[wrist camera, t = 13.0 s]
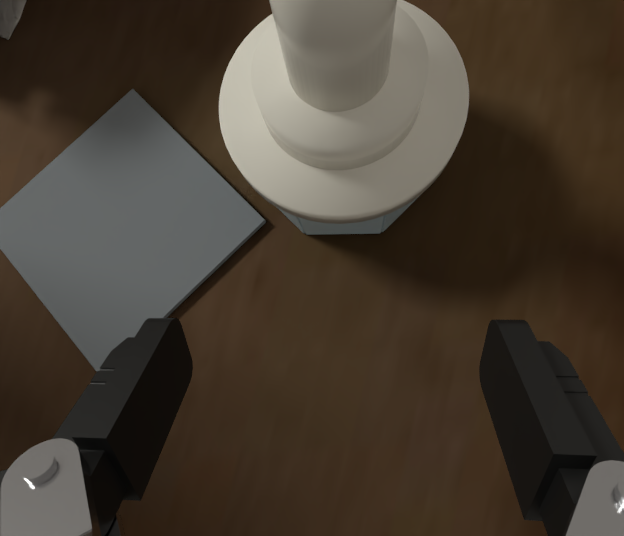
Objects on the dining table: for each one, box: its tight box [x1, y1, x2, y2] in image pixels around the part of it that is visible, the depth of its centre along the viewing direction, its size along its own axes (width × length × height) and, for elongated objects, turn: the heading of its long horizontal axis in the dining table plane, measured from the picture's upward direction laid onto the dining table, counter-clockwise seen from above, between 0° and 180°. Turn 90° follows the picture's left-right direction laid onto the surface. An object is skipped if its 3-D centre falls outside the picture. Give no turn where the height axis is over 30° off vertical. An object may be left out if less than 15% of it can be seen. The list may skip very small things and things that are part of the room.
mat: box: [0, 89, 266, 371], centre depth 24 cm, size 12×12×1 cm
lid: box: [219, 0, 469, 224], centre depth 14 cm, size 11×11×10 cm
